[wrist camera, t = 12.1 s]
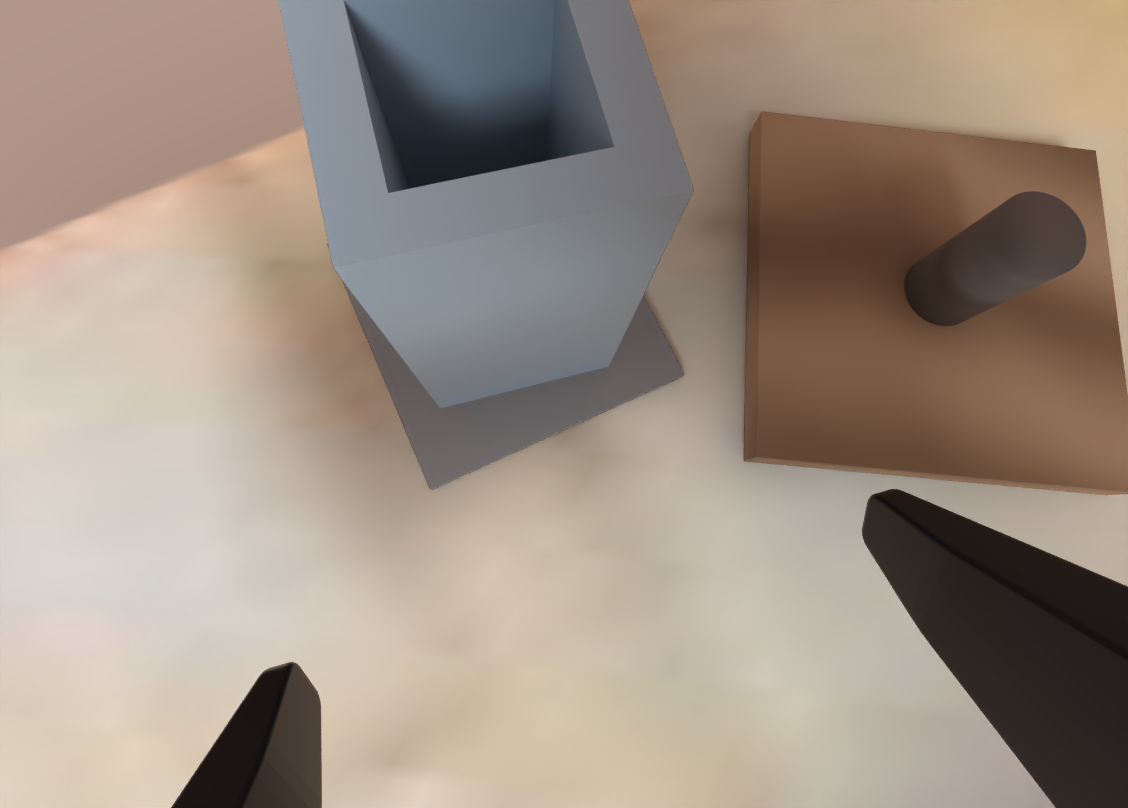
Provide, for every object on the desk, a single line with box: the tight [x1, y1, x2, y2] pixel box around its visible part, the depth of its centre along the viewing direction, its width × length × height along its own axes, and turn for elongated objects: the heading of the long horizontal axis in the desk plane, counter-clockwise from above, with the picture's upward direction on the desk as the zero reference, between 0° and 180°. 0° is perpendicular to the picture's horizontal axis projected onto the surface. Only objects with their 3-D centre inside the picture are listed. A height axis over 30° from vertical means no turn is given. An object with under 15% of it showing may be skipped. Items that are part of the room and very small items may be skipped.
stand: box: [744, 112, 1128, 495], centre depth 16 cm, size 11×11×4 cm
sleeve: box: [278, 0, 694, 408], centre depth 13 cm, size 5×5×9 cm
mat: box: [327, 244, 684, 490], centre depth 17 cm, size 8×8×1 cm
